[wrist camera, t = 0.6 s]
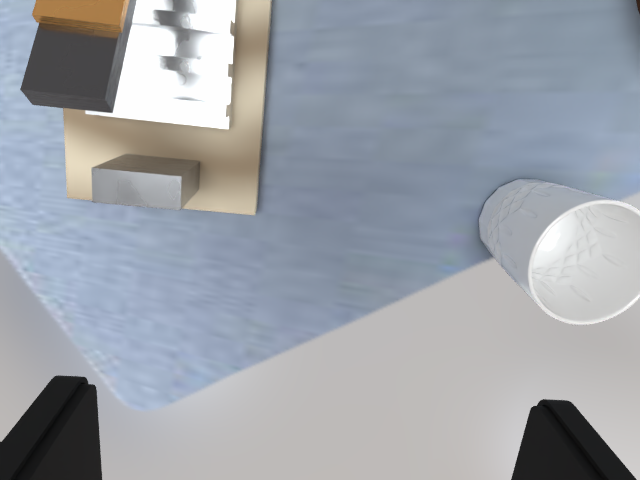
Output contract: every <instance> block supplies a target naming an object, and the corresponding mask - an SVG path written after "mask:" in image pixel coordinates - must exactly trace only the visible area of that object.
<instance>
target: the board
mask: <svg viewBox="0 0 640 480" xmlns="http://www.w3.org/2000/svg"><path fill="white" fill-rule="evenodd" d="M271 8H272V0H238V16H237V34H236V52H235V71H234V89H233V108H232V126H231V128H230V129H223V128H213V127H204V126H194V125H185V124H176V123H166V122H157V121H147V120H138V119H128V118H119V117H109V116H100V115H90V114H85V110H78V109H68V108H63V113H64V136H65V158H66V181H67V198H72V199H83V200H92V172H91V168H92V167H95V166H97V165H99V164H102V163H104V162H107V161H109V160H111V159H114V158H116V157H119V156H121V155H124V154H135V155H146V156H156V157H166V158H176V159H186V160H196V161H200V180H199V190H198V191H197V192H196V193H195V195H194V196H193V197H192V198H191V199H190V200H189V201H188V202H187V204H186V205H185V206H184V207H183V208H182V209H192V210H203V211H214V212H225V213H236V214H247V215H255V213H256V210H257V200H258V186H259V172H260V159H261V145H262V131H263V118H264V104H265V90H266V76H267V63H268V49H269V35H270V22H271Z"/></svg>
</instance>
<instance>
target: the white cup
mask: <svg viewBox="0 0 640 480" xmlns="http://www.w3.org/2000/svg"><path fill="white" fill-rule="evenodd" d="M479 230H480V239H481V240H482V242H483V243H484V245H485V246H486V248H487V249H488V251H489V252H490V253H491V255H492V256H493V257H494V258H495V259H496V261H497V262H498V263H499V264H500V265H501V267H502V268H503V269H504V270H505V271H506V272H507V274H508V275H509V276H510V277H511V278H512V279H513V280H514V281H515V282H516V283H517V284H518V285H519V286H520V287H521V288H522V289H523V290H524V291H525V292H526V293H527V294H528V295H529V296H530V297H531V298H532V299H533V301H534V302H535V303H536V304H537V305H538V306H539V307H540V308H541V309H542V310H543V311H544V312H545V313H547V314H548V315H549V316H551V317H552V318H554V319H556V320H559V321H561V322H565V323H569V324H576V325H587V324H594V323H599V322H602V321H605V320H608V319H611V318H613V317H615V316H617V315H619V314H620V313H622V312H623V311H625V310H626V309H628V308H629V307H630V306H632V305H633V304H634V303H635V302H636V301H637V300H638V299H639V298H640V210H639V209H637V208H635V207H634V206H632V205H630V204H627V203H624V202H621V201H617V200H614V199H610V198H607V197H603V196H599V195H596V194H593V193H589V192H586V191H582V190H579V189H575V188H571V187H566V186H563V185H559V184H554V183H548V182H544V181H541V180H537V179H517V180H515V181H512V182H510V183H508V184H505V185H503V186H501V187H499V188H498V189H497V190H496V191H495V192H494V193H493V194H492V195H491V196H490V197H489V199H488V200H487V201H486V202H485V204H484V207H483V209H482V212H481V215H480V218H479Z"/></svg>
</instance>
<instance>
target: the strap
mask: <svg viewBox="0 0 640 480" xmlns="http://www.w3.org/2000/svg"><path fill="white" fill-rule="evenodd" d="M136 3H137V0H36V3H35V7H34V10H33V13H32V15H33V17H34V18H35V20H36V22H39V26H38V30H37V33H36V37H35V40H34V44H33V47H32V51H31V54H30V58H29V61H28V65H27V68H26V72H25V75H24V79H23V82H22V86H21V89H20V90H21V91H22V92H23V93H24V94H25V96H26V97H27V98H28V99H29V101H30V102H31V103H32V104H33V105H40V106H49V107H59V108H68V109H78V110H87V111H97V112H106V113H113V110H114V105H115V100H116V96H117V91H118V86H119V82H120V77H121V72H122V68H123V63H124V58H125V54H126V49H127V44H128V40H129V35H130V30H131V26H132V21H133V17H134V12H135V7H136Z"/></svg>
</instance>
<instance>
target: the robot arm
mask: <svg viewBox="0 0 640 480" xmlns="http://www.w3.org/2000/svg"><path fill="white" fill-rule="evenodd" d="M0 480H102V471H101V455H100V440H99V423H98V407H97V391H96V387H95V385H91V384H88V381H87V379H86V378H85V377H77V376H55V377H54V378H53V379H51V381H50V382H49V383H48V385H47V386H46V387H45V388H44V390H43V391H42V392H41V393H40V395H39V396H38V397H37V398H36V400H35V401H34V402H33V403H32V405H31V406H30V407H29V409H28V410H27V411H26V412H25V414H24V415H23V416H22V417H21V418H20V420H19V421H18V422H17V424H16V425H15V426H14V427H13V428H12V430H11V431H10V432H9V434H8V435H7V436H6V437H5V439H4V440H3V441H2V442H0ZM511 480H636V478H635V477H634V476H633V475H632V474H631V472H630V471H629V470H628V469H627V468H626V467H625V465H624V464H623V463H622V462H621V461H620V459H619V458H618V457H617V456H616V455H615V453H614V452H613V451H612V450H611V449H610V447H609V446H608V445H607V444H606V443H605V441H604V440H603V439H602V438H601V437H600V435H599V434H598V433H597V432H596V431H595V430H594V428H593V427H592V426H591V425H590V424H589V422H588V421H587V420H586V419H585V418H584V416H583V415H582V414H581V413H580V412H579V410H578V409H577V408H576V407H575V406H574V405H573V404H572V403H571V402H569V401H565V400H544V399H543V400H541V401H540V402H539V403H538V405H537V406H533V407H532V408H531V410H530V413H529V417H528V420H527V424H526V428H525V431H524V435H523V439H522V442H521V446H520V450H519V453H518V457H517V461H516V464H515V468H514V472H513V476H512V479H511Z"/></svg>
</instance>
